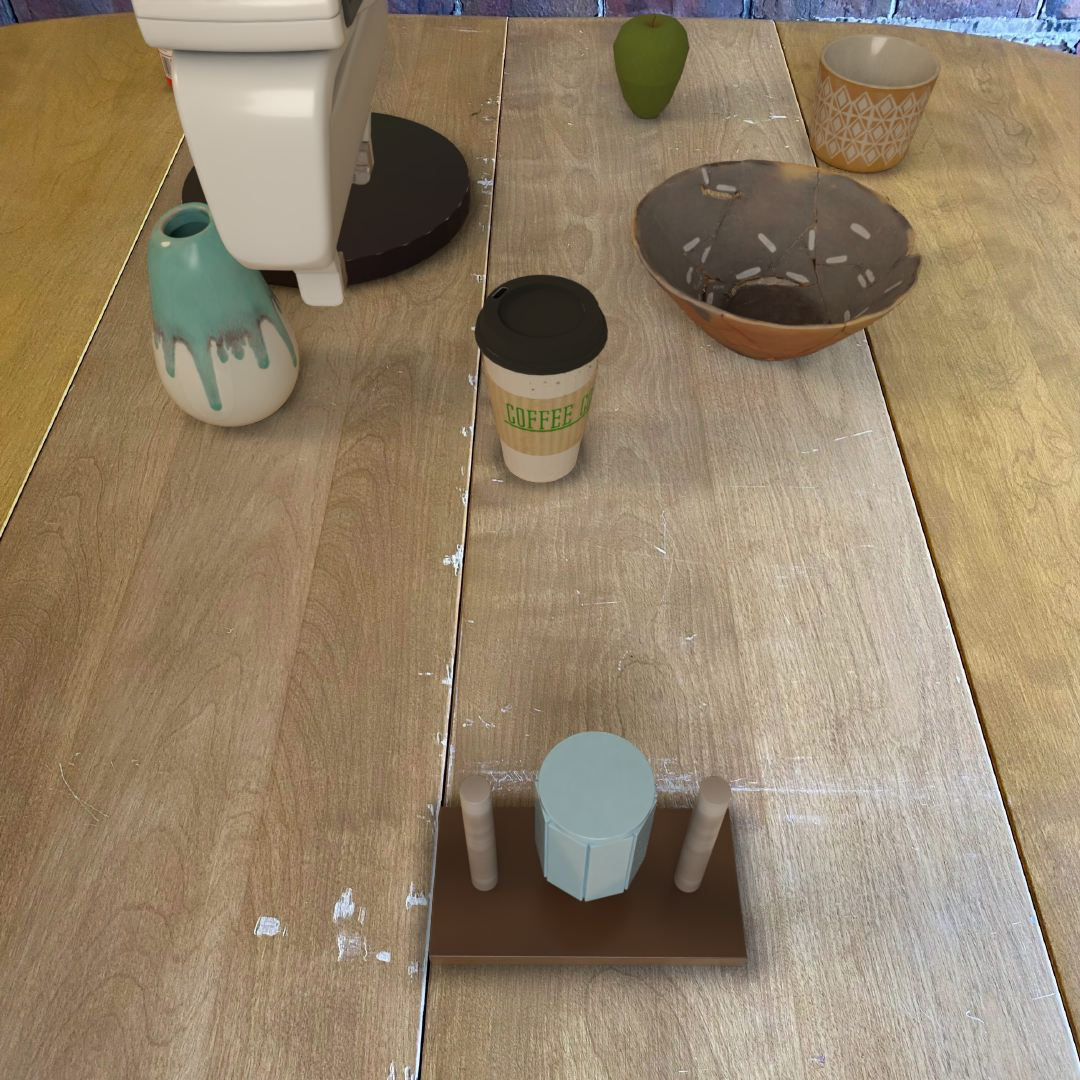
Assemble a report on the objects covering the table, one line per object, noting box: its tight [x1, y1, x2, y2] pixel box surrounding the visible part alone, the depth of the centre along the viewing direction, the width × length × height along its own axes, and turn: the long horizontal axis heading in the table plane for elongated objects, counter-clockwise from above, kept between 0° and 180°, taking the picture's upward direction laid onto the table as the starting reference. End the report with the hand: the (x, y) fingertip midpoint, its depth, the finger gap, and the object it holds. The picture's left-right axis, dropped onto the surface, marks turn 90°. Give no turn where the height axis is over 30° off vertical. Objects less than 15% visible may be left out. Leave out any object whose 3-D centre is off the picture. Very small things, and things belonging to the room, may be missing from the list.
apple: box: [612, 13, 690, 119], centre depth 115 cm, size 9×8×12 cm
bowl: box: [630, 158, 923, 362], centre depth 90 cm, size 25×25×10 cm
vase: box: [146, 202, 300, 428], centre depth 80 cm, size 12×12×18 cm
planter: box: [809, 33, 942, 174], centre depth 110 cm, size 13×13×10 cm
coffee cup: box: [474, 274, 609, 484], centre depth 77 cm, size 10×10×15 cm
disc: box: [180, 111, 471, 287], centre depth 106 cm, size 30×30×3 cm
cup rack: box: [428, 774, 748, 967], centre depth 55 cm, size 9×18×14 cm, turn 90°
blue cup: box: [534, 730, 659, 901], centre depth 52 cm, size 6×6×8 cm
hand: (342, 232), depth 46 cm, fingers open, 8 cm apart
